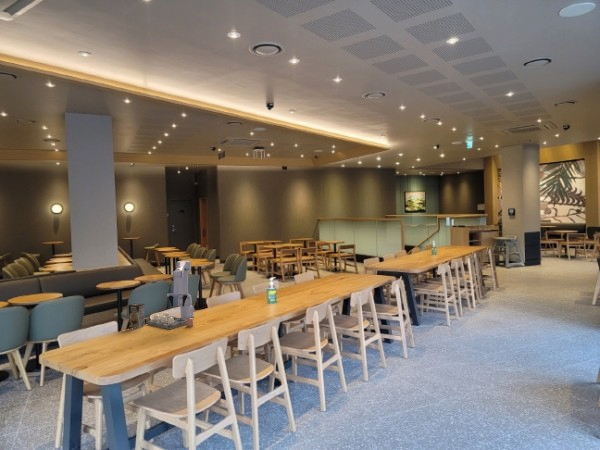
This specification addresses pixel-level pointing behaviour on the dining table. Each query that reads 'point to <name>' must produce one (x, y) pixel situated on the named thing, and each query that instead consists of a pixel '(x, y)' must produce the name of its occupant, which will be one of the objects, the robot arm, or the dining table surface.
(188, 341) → the dining table surface
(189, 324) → the terracotta egg
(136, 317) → the coffee box
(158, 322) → the egg tray
